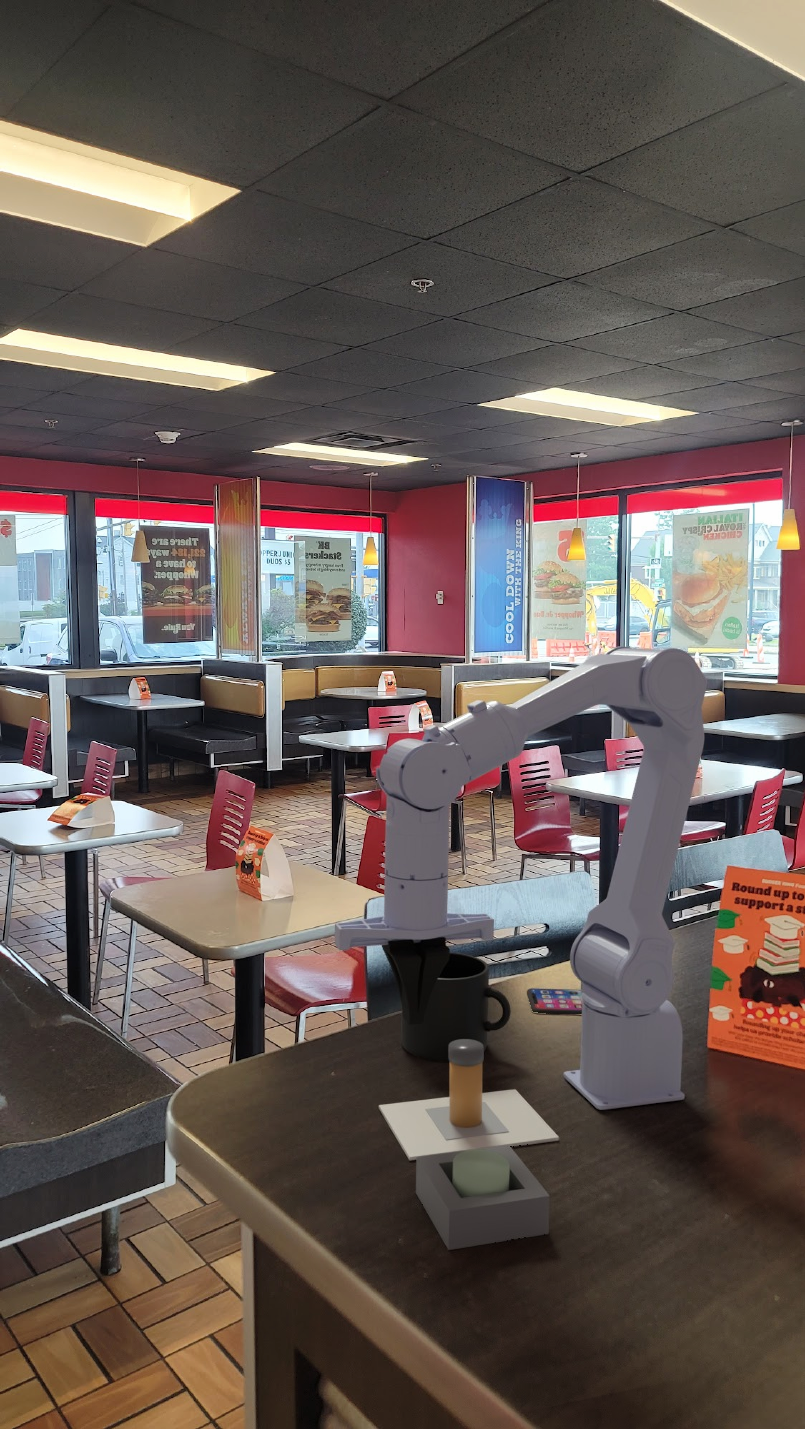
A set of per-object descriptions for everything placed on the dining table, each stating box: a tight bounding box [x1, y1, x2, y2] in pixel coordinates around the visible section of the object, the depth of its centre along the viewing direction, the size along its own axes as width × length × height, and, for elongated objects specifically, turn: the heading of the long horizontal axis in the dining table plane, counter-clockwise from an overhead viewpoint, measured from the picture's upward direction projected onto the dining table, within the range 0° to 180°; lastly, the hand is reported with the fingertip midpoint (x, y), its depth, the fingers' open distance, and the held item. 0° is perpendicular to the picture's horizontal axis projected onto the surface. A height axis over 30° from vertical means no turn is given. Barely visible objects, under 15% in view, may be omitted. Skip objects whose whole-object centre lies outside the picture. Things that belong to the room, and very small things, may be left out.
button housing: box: [415, 1145, 551, 1251], centre depth 80 cm, size 8×8×3 cm
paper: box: [378, 1088, 560, 1162], centre depth 95 cm, size 14×10×1 cm
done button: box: [452, 1149, 510, 1198], centre depth 80 cm, size 4×4×3 cm
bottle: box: [448, 1039, 485, 1128], centre depth 95 cm, size 3×3×7 cm
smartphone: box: [526, 987, 583, 1015], centre depth 127 cm, size 8×1×15 cm
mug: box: [400, 951, 512, 1063], centre depth 112 cm, size 9×12×9 cm
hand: (413, 1020), depth 94 cm, fingers closed
